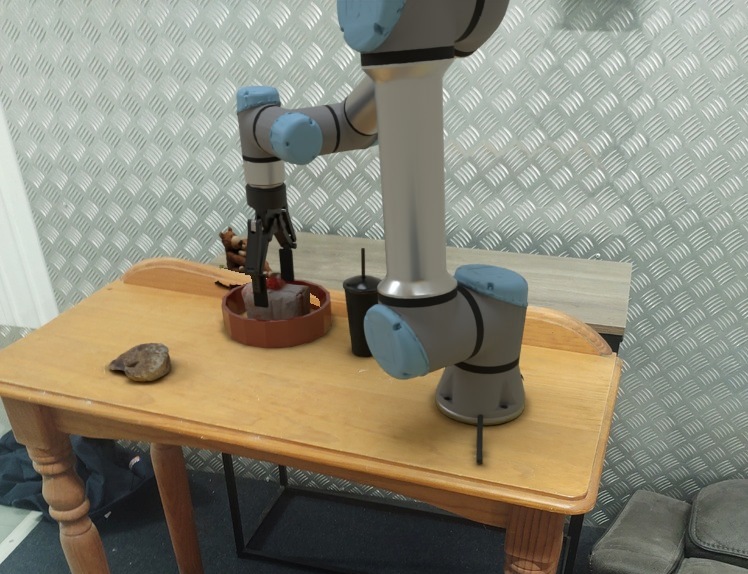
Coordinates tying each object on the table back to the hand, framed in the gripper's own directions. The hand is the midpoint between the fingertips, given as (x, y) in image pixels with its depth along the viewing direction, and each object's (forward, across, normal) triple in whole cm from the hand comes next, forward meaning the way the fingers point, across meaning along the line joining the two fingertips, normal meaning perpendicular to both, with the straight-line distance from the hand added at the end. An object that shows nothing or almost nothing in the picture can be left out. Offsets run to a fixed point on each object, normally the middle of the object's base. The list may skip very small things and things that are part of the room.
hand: (275, 293), depth 145 cm
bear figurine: (+7, -20, -16) cm, 26 cm away
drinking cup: (+7, +7, +21) cm, 23 cm away
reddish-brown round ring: (+7, 0, 0) cm, 7 cm away
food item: (+7, 0, 0) cm, 7 cm away
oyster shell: (+7, +26, -17) cm, 32 cm away
